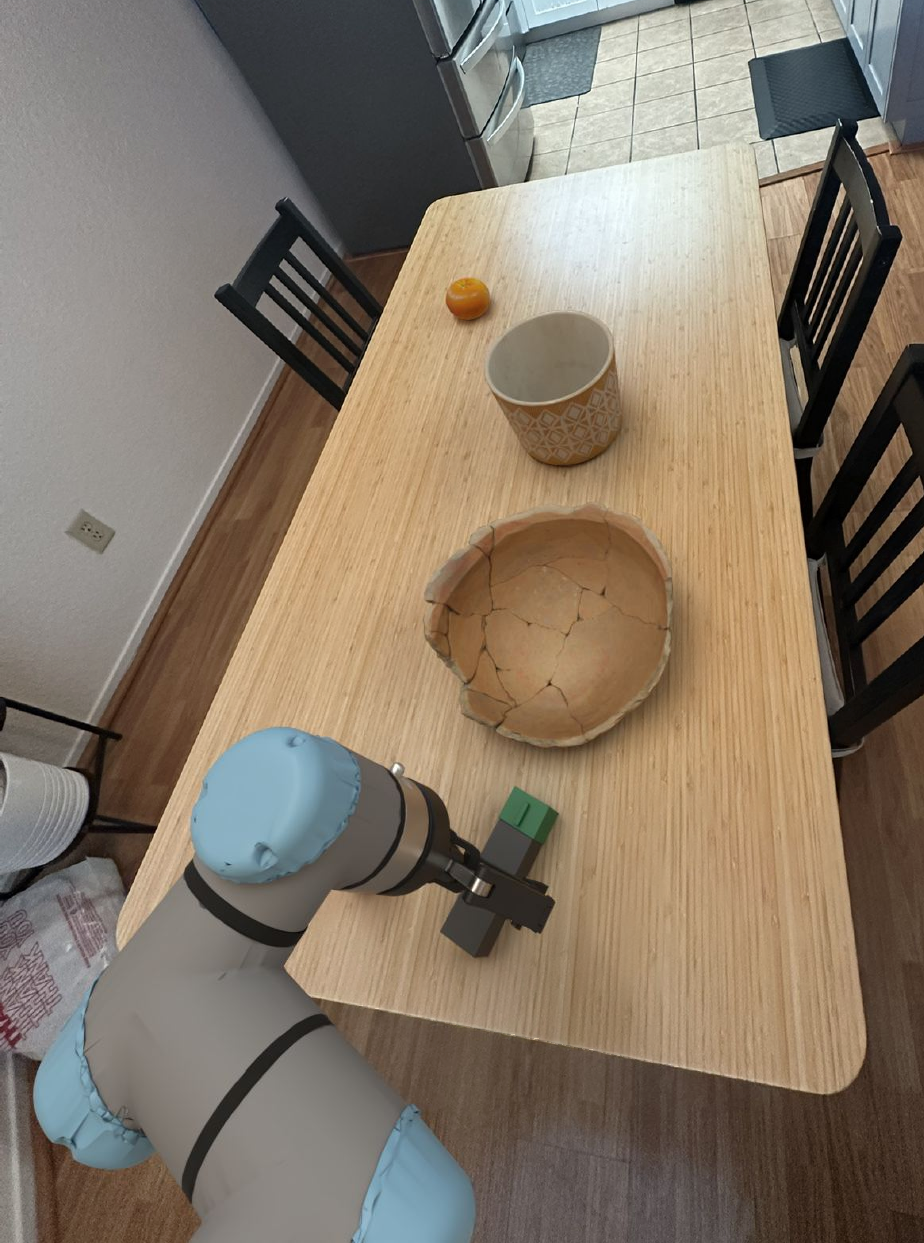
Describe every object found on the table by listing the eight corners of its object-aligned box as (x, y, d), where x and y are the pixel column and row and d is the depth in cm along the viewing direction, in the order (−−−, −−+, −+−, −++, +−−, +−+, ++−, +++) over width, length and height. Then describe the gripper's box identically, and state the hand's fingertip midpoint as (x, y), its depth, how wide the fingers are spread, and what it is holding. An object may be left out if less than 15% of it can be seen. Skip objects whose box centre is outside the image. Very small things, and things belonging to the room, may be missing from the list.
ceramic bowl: (497, 805, 72) (447, 750, 62) (442, 629, 92) (397, 565, 82) (727, 679, 76) (713, 607, 66) (626, 535, 96) (604, 463, 86)
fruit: (500, 282, 127) (467, 263, 121) (493, 321, 125) (460, 304, 119) (475, 293, 133) (442, 275, 127) (468, 331, 131) (435, 315, 125)
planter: (562, 496, 98) (534, 427, 85) (492, 432, 109) (459, 362, 95) (654, 422, 102) (642, 346, 89) (579, 367, 113) (558, 292, 100)
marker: (488, 957, 66) (472, 958, 62) (454, 931, 68) (435, 930, 64) (559, 813, 72) (548, 805, 68) (525, 793, 74) (512, 784, 70)
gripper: (556, 873, 42) (610, 891, 59) (298, 705, 52) (407, 761, 69) (496, 1002, 39) (571, 982, 55) (235, 795, 49) (364, 831, 66)
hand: (480, 859), depth 62 cm, fingers open, 13 cm apart
